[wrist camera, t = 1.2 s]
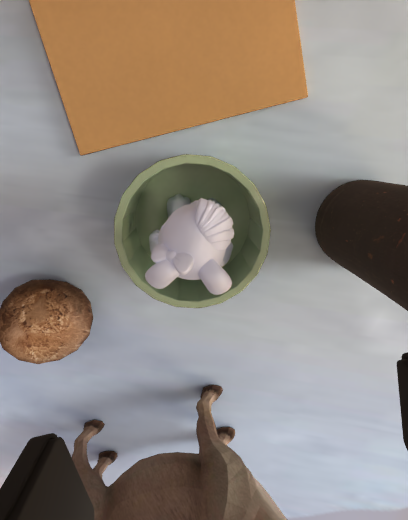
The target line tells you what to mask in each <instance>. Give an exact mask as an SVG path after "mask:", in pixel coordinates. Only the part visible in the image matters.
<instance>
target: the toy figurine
mask: <svg viewBox="0 0 408 520" xmlns="http://www.w3.org/2000/svg"><path fill="white" fill-rule="evenodd" d="M167 214H168V219H167V221H166V222H165V223H164V225H162V227H161V229H160V231H159V230H155V231H153V233H152V234H150V236H149V243H150V251H151V253H152V254H151V259H152V260H153V262H155V263H156V264H154V265H153V266H152V267H150V268H149V269H148V270H147V272H146V273H145V278H146V280H147V282H148V283H149V284H150V285H151V286H153V287H154V288H157V289H163V288H165V287H167V286H168V285H169V284H170V283H171V282H172V281H173V280H175V279H176V278H177V277H179V278H182V279H187V280H199V279H201V280H202V282H203V283H204V285H205V286H206V288H207V289H208V291H209V292H210V293H212V294H214V295H219V294H222V293H225V292H226V291H228V290H229V289H230V287H231V285H232V280H231V278H230V276H229V275H228V274H227V272H226V271H225V270H224V269H223V268H222V266H224V265H225V264H226V263H227V262H228V261H229V259H230V256H231V252H232V249H233V244H232V242H231V239H232V238H233V237H234V229H233V228H232V225H233V221H232V218H231V217H230V216H229V215H228V213H227V212H226V210H225V208H224V207H222V205H221V204H220V203H219V202H217V201H216V200H215V199H214V198H210V199H208V200H207V199H203V198H200V199H199V200H195V201H194V202H192V203H191V201H190V199H189V198H188V197H183V196H182V195H181V194H177V195H175V196H174V197H171V198H169V199H168V201H167Z"/></svg>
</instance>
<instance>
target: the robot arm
mask: <svg viewBox="0 0 408 520" xmlns="http://www.w3.org/2000/svg"><path fill="white" fill-rule="evenodd" d="M397 372H398V384H399V395H400V406H401V417H402V428H403V439H404V443H405V446H406V448H407V450H408V353H404V354H403V355H402V360H399V361H398V362H397ZM0 520H94V507H93V505H92V502H91V500H90V498H89V496H88V494H87V491H86V489H85V487H84V485H83V482H82V480H81V478H80V476H79V473H78V471H77V469H76V467H75V464H74V462H73V460H72V458H71V455H70V453H69V451H68V449H67V447H66V444H65V442H64V440H63V439H62V438H61V437H59V438H58V437H57V435H56V434H54V433H51V434H46V435H42V436H38V437H33V438H31V439H30V440H29V441H28V443H27V445H26V446H25V448H24V450H23V451H22V453H21V455H20V456H19V458H18V460H17V462H16V463H15V465H14V467H13V468H12V470H11V472H10V473H9V475H8V477H7V478H6V480H5V482H4V484H3V485H2V487H1V489H0Z"/></svg>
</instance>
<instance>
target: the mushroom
mask: <svg viewBox="0 0 408 520" xmlns="http://www.w3.org/2000/svg"><path fill="white" fill-rule="evenodd" d="M92 321H93V314H92V309H91V303H90V301H89V300H88V298H87V297H86V295H85V294H84V293H83V291H82V290H81V289H79V288H77V287H75V286H73V285H71V284H69V283H67V282H63V281H57V280H31V281H29V282H26V283H24V284H22V285H20V286H18V287H16V288H15V289H14V290H13V291H12V292H11V293H10V294H9V295H8V297H7V298H6V299H5V300H4V301H3V303H2V305H1V308H0V343H1V345H2V348H3V349H4V350H5V351H7V352H8V353H10V354H11V355H12V356H14V357H15V358H17V359H18V360H21V361H26V362H31V363H36V364H41V363H45V362H51V361H56V360H60V359H62V358H64V357H66V356H67V355H69V354H71V353H73V352H75V351H76V350H77V349H78V348H79V347H80V346H81V345H82V343H83V342H84V341H85V340H86V338H87V337H88V336H89V333H90V329H91V325H92Z"/></svg>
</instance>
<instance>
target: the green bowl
mask: <svg viewBox="0 0 408 520" xmlns="http://www.w3.org/2000/svg"><path fill="white" fill-rule="evenodd" d="M177 194H181V195H182V196H183V197H188V198H189V199H190V201H191V203H192V202H194V201H195V200H199V199H200V198H203V199H207V200H208V199H210V198H214V199H215V200H216V201H217V202H219V203H220V204H221V205H222V207H224V208H225V210H226V212H227V213H228V215H229V216H230V217H231V218H232V221H233V225H232V228H233V229H234V237H233V238H232V239H231V242H232V244H233V249H232V252H231V256H230V259H229V261H228V262H227V263H226V264H225V265H224V266H222V268H223V269H224V270H225V271H226V272H227V274H228V275H229V276H230V278H231V280H232V285H231V287H230V289H229V290H228V291H226V292H225V293H222V294H219V295H214V294H212V293H210V292H209V291H208V289H207V288H206V286H205V285H204V283H203V282H202V280H201V279H199V280H187V279H182V278H179V277H177V278H176V279H175V280H173V281H172V282H171V283H170V284H169V285H168V286H167V287H165V288H163V289H157V288H154V287H153V286H151V285H150V284H149V283H148V282H147V280H146V278H145V273H146V272H147V270H148V269H149V268H150V267H152V266H153V265H154V264H156V263H155V262H153V260H152V259H151V254H152V253H151V251H150V243H149V236H150V234H152V233H153V231H155V230H159V231H160V229H161V227H162V225H164V223H165V222H166V221H167V219H168V214H167V201H168V199H169V198H171V197H174V196H175V195H177ZM270 229H271V228H270V223H269V218H268V212H267V207H266V204H265V203H264V201H263V199H262V197H261V195H260V194H259V192H258V190H257V188H256V186H255V185H254V183H253V182H251V181H250V180H249V179H248V178H247V177H246V176H245V175H244V174H243V173H242V172H240V171H239V170H238V169H237V168H236V167H234V166H232V165H230V164H228V163H225V162H223V161H221V160H218V159H216V158H214V157H211V156H201V155H188V154H186V155H180V156H176V157H172V158H168V159H164V160H161V161H158V162H157V163H155V164H154V165H152V166H151V167H149V168H148V169H146V170H145V171H143V172H142V173H140V174H139V175H138V176H137V177H136V178H135V179H134V181H133V182H132V183H131V184H130V186H129V187H128V188H127V190H126V191H125V192H124V194H123V195H122V197H121V200H120V203H119V206H118V209H117V212H116V215H115V219H114V244H115V247H116V250H117V253H118V256H119V259H120V262H121V265H122V267H123V268H124V270H125V271H126V272H127V274H128V275H129V277H130V278H131V279H132V281H133V282H134V283H135V285H136V286H138V287H139V288H140V289H142V290H143V291H144V292H146V293H147V294H148V295H150V296H151V297H152V298H154V299H156V300H159V301H161V302H164V303H167V304H170V305H172V306H175V307H187V308H203V307H207V306H211V305H216V304H220V303H222V302H224V301H226V300H228V299H229V298H231V297H233V296H235V295H236V294H238V293H240V292H241V291H243V289H244V288H245V287H246V286H247V285H248V284H249V283H250V282H251V281H252V280H253V279H254V278H255V277H256V276H257V274H258V272H259V270H260V268H261V266H262V264H263V262H264V260H265V258H266V256H267V253H268V247H269V239H270V232H271V230H270Z"/></svg>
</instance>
